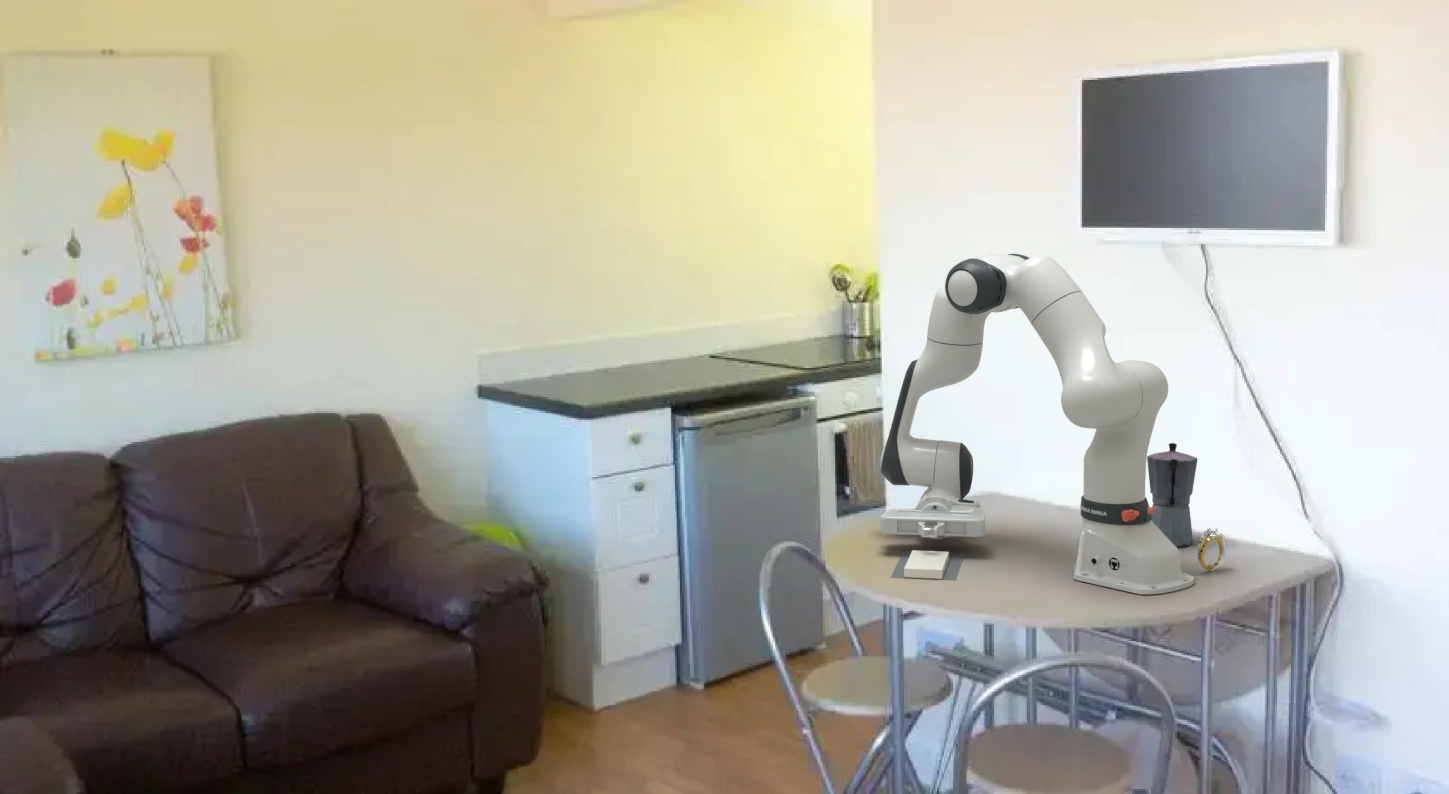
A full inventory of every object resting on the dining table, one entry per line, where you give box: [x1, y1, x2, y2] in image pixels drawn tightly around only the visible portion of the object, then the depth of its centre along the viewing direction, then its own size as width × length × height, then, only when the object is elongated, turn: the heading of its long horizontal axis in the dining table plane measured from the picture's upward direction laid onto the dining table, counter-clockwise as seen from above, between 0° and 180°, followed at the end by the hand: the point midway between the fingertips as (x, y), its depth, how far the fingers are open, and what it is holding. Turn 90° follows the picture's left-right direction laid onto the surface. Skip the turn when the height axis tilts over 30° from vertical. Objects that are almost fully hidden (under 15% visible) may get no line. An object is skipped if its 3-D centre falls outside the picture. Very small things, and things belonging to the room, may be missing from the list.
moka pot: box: [1146, 442, 1198, 547], centre depth 302 cm, size 10×15×20 cm, turn 170°
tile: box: [904, 549, 950, 580], centre depth 288 cm, size 2×7×13 cm
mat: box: [890, 550, 966, 581], centre depth 291 cm, size 19×12×1 cm, turn 166°
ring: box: [1196, 527, 1227, 572], centre depth 283 cm, size 7×3×8 cm, turn 119°
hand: (929, 533), depth 291 cm, fingers closed
